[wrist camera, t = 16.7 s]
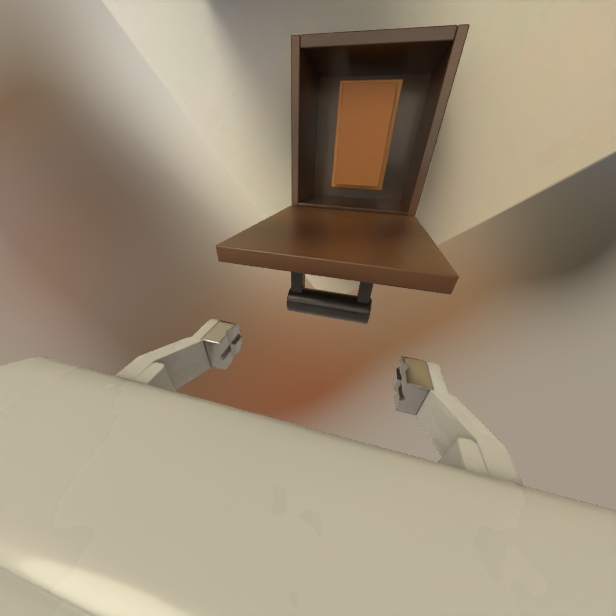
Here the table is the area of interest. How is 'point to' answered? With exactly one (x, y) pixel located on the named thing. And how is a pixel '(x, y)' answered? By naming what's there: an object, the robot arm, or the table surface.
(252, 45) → the table surface
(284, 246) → the lid
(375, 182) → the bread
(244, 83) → the table surface
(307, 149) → the box
